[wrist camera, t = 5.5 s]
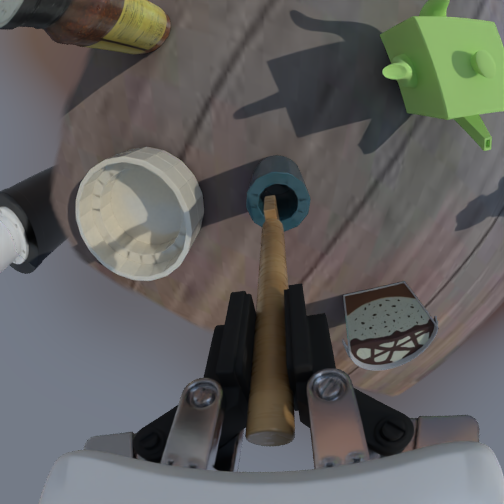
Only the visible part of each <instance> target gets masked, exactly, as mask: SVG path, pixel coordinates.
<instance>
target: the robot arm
mask: <svg viewBox="0 0 504 504" xmlns="http://www.w3.org/2000/svg"><path fill="white" fill-rule="evenodd" d="M28 253H29V245H28V239H27V236H26V233H25V230H24V228H23V226H22V223H21V222H20V220H19V218H18V217H17V216H16V214H15V213H14V212H13V211H12V210H10V209H9V208H7V207H0V273H1V272H2V271H3V270H4V269H5V268H6V267H7V266H8V265H10V264H11V263H12V262H13V263H15V264H21V263H23V262H24V261H25V260H26V259H27V257H28ZM284 308H285V335H286V364H287V372H288V378H289V383H290V388H291V390H292V391H293V393H294V410H295V411H298V410H299V416H300V421H301V422H302V423H303V424H305V425H306V426H308V427H309V428H310V431H311V440H312V449H313V459H314V467H315V469H312V470H301V471H287V472H286V471H285V472H238V466H239V460H240V453H241V447H242V441H243V434H244V428H245V427H246V424H247V413H248V401H249V392H250V383H251V371H252V359H253V346H254V334H255V321H256V311H255V308H254V304H253V300H252V296H251V294H246V292H245V291H240V292H232V293H231V295H230V301H229V306H228V311H227V316H226V321H225V325H218V326H216V327H215V330H214V334H213V338H212V342H211V347H210V351H209V356H208V361H207V365H206V369H205V374H204V378H199V379H196V380H194V381H192V382H191V383H189V384H188V385H187V386H186V387H185V388H184V390H183V392H182V395H181V398H180V401H179V405H177V406H176V407H174V408H173V409H171V410H170V411H168V412H167V413H165V414H164V415H162V416H161V417H159V418H158V419H156V420H154V421H153V422H151V423H150V424H148V425H147V426H145V427H143V428H142V429H141V430H140V431H138V432H137V433H136V434H134V433H133V432H126V433H119V434H110V435H100V436H94V437H91V438H90V439H88V440H87V442H86V443H85V446H84V450H78V451H72V452H68V453H66V454H63V455H62V456H60V457H59V458H58V459H57V460H56V462H55V463H54V465H53V467H52V469H51V471H50V473H49V475H48V477H47V480H46V482H45V485H44V488H43V491H42V494H41V497H40V500H39V504H504V476H503V473H502V470H501V467H500V464H499V462H498V460H497V458H496V456H495V454H494V452H493V451H492V450H491V449H490V448H489V447H488V446H487V445H485V444H482V443H479V425H478V422H477V421H476V419H475V418H473V417H472V416H469V415H457V416H419V417H418V418H409V417H407V416H406V415H405V414H403V413H401V412H399V411H397V410H395V409H393V408H391V407H389V406H387V405H385V404H383V403H381V402H379V401H377V400H375V399H373V398H372V397H370V396H368V395H366V394H364V393H362V392H360V391H359V390H357V389H355V388H353V384H352V381H351V379H350V377H349V376H348V375H347V374H346V373H345V372H344V371H342V370H340V369H336V367H335V361H334V355H333V350H332V345H331V339H330V334H329V329H328V324H327V319H326V315H325V313H324V314H317V315H310V316H306V309H305V301H304V294H303V286H302V284H295V285H289V289H285V290H284Z"/></svg>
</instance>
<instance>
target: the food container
mask: <svg viewBox="0 0 504 504" xmlns="http://www.w3.org/2000/svg"><path fill="white" fill-rule="evenodd" d="M343 300H344V309H345V318H346V327H347V338H348V346H347V345H346V343H345V341H344V339H342V342H343V345H344V348H345V350H346V352H347V354H348V356H349V357H350V358H351V360H352V361H353V362H354V363H355V364H356V365H358V366H359V367H361V368H364V369H367V370H387V369H391V368H395V367H398V366H400V365H403V364H405V363H407V362H409V361H411V360H412V359H414V358H415V357H417V356H418V355H420V354H421V353H422V352H423V351H424V350H425V349H426V348H427V347H428V346H429V345H430V344H431V342H432V341H433V339H434V338H435V336H436V334H437V331H438V329H439V328H438V321H437V318H436V316H435V317H434V320H433V318H432V317H431V316H430V314H429V313H428V311H427V310H426V309H425V307H424V306H423V305H422V303H421V302H420V300H419V299H418V298H417V296H416V295H415V294H414V292H413V291H412V290H411V288H410V287H409V286H408V285H407V283H406V282H405V281H403V282H399V283H394V284H390V285H386V286H381V287H377V288H372V289H368V290H363V291H359V292H354V293H349V294H344V295H343Z"/></svg>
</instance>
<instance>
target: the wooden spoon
mask: <svg viewBox="0 0 504 504" xmlns="http://www.w3.org/2000/svg"><path fill="white" fill-rule="evenodd" d="M264 216H265V222H264V223H263V226H262V237H261V251H260V265H259V278H258V291H257V304H256V321H255V334H254V346H253V359H252V371H251V383H250V392H249V401H248V413H247V424H246V435H245V436H246V439H247V440H248V441H249V442H251V443H253V444H256V445H261V446H280V445H285V444H287V443H290V442H292V440H294V438H295V423H294V393H293V391H292V390H291V388H290V383H289V378H288V372H287V364H286V335H285V308H284V290H285V289H288V280H287V267H286V254H285V242H284V230H283V224H282V223H281V222H280V221H279V215H278V209H277V204H276V198H275V195H272V196H265V198H264Z"/></svg>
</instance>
